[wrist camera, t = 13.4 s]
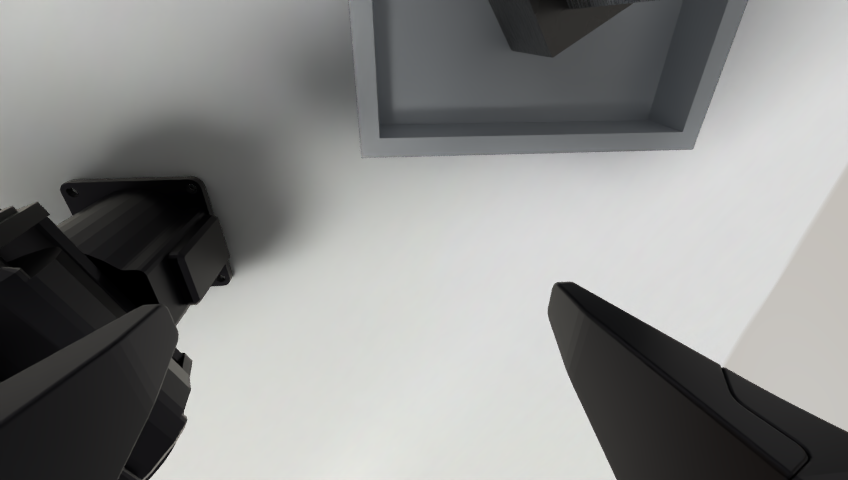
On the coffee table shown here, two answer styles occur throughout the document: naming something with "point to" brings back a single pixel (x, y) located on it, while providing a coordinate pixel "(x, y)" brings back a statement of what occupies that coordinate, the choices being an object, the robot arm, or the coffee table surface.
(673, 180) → the coffee table surface
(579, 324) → the robot arm
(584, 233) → the coffee table surface
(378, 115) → the bin
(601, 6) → the strut
